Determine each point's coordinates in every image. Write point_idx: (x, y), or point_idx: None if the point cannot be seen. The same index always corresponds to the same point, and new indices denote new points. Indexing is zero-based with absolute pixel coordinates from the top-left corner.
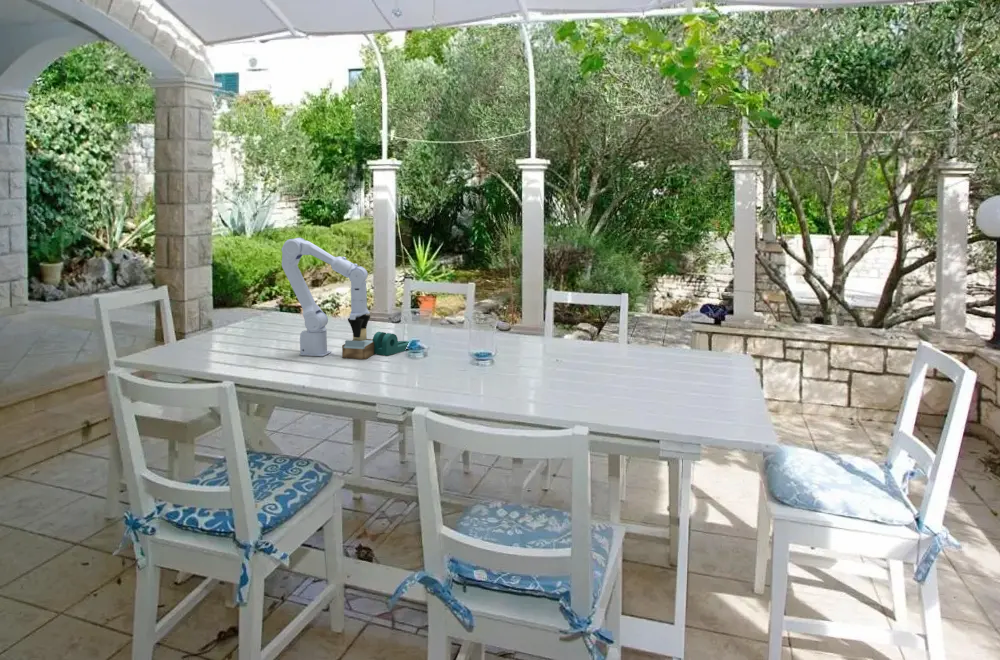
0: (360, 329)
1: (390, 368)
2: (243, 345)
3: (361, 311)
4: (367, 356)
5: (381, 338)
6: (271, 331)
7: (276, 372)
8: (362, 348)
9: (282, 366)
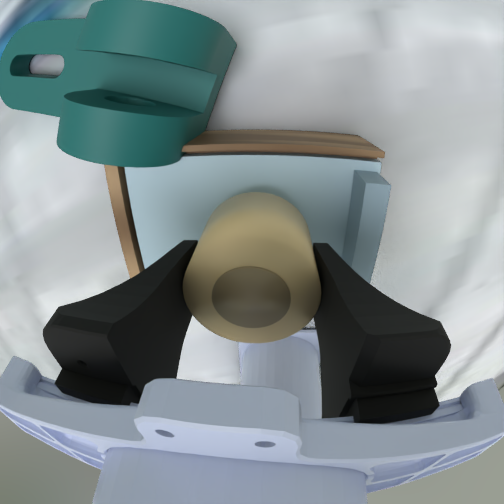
0: (346, 274)
1: (490, 8)
2: None
3: (357, 491)
4: (330, 134)
5: (133, 105)
6: None
7: (497, 342)
8: (375, 171)
9: (447, 361)
